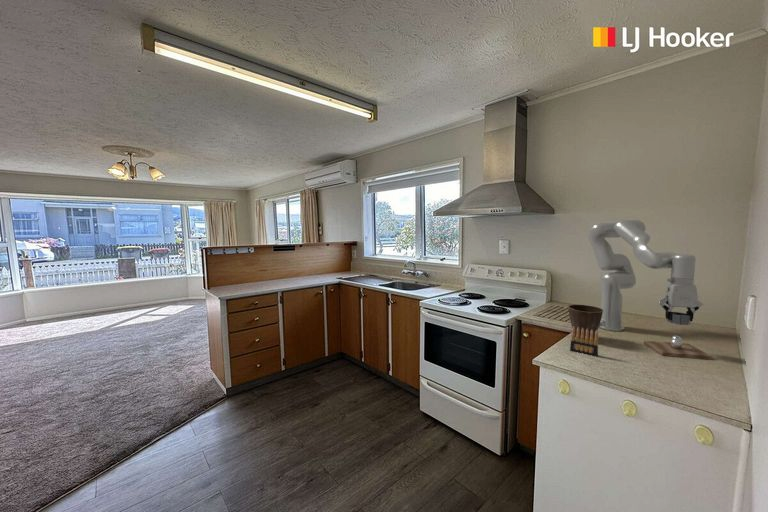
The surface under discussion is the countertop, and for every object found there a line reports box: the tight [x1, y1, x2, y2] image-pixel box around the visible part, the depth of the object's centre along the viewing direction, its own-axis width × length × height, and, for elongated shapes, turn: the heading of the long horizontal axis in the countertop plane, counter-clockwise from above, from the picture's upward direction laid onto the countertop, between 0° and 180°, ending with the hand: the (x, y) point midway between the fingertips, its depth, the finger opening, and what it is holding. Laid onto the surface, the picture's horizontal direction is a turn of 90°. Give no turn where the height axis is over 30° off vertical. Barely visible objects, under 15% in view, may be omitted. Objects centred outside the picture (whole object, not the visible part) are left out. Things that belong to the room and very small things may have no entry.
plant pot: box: [568, 304, 603, 340], centre depth 157 cm, size 15×15×16 cm
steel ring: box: [667, 311, 692, 326], centre depth 139 cm, size 7×7×4 cm
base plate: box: [643, 340, 713, 360], centre depth 141 cm, size 18×14×2 cm
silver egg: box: [670, 335, 683, 350], centre depth 140 cm, size 4×4×6 cm
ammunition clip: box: [569, 326, 599, 358], centre depth 139 cm, size 11×2×12 cm, turn 50°
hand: (678, 319), depth 139 cm, fingers closed on steel ring, 7 cm apart
